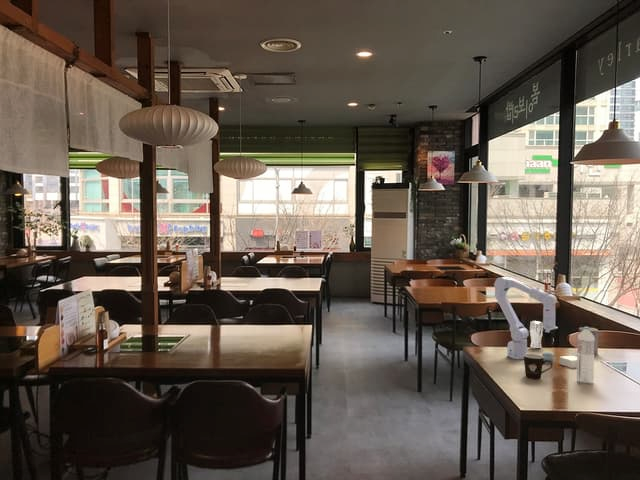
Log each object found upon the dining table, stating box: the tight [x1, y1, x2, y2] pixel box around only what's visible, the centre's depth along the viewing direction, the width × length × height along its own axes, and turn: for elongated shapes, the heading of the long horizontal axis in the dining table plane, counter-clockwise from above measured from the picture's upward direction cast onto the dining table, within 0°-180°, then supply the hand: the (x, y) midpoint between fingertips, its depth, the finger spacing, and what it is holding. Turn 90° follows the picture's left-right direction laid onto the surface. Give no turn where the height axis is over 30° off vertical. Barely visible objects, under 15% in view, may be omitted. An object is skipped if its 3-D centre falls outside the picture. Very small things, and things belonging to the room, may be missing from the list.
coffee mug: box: [523, 353, 553, 381], centre depth 239 cm, size 12×9×10 cm
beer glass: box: [529, 320, 544, 349], centre depth 302 cm, size 7×7×15 cm
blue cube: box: [541, 351, 555, 365], centre depth 268 cm, size 5×5×5 cm
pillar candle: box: [578, 326, 599, 356], centre depth 289 cm, size 10×10×15 cm
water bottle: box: [576, 326, 595, 385], centre depth 234 cm, size 7×7×25 cm
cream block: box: [558, 355, 577, 369], centre depth 263 cm, size 8×8×4 cm
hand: (548, 344), depth 268 cm, fingers open, 7 cm apart
